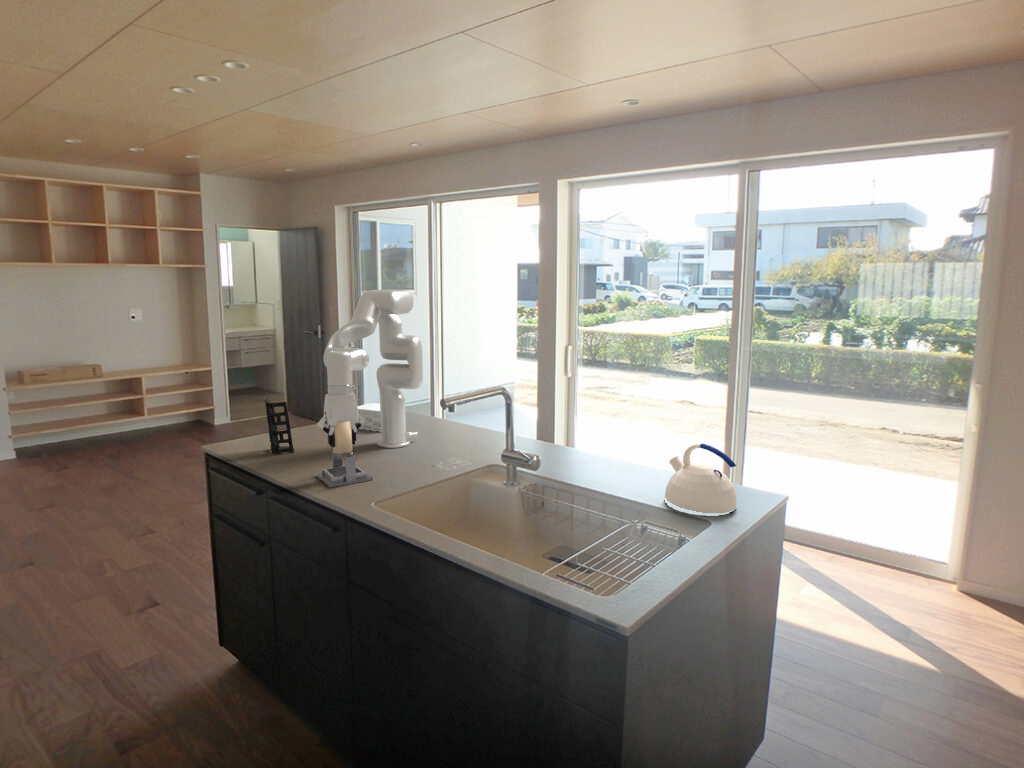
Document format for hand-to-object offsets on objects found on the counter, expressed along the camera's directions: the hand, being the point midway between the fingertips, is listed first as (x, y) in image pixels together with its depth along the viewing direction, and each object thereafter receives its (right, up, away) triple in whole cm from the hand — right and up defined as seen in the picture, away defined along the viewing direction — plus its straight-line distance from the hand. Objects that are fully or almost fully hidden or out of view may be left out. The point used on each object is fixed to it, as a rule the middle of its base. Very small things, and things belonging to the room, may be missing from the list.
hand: (342, 444), depth 205 cm
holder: (-32, -6, +32) cm, 46 cm away
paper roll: (0, -2, 0) cm, 2 cm away
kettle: (+109, -16, -20) cm, 112 cm away
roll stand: (0, -11, +2) cm, 11 cm away
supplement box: (-4, 0, +71) cm, 72 cm away
